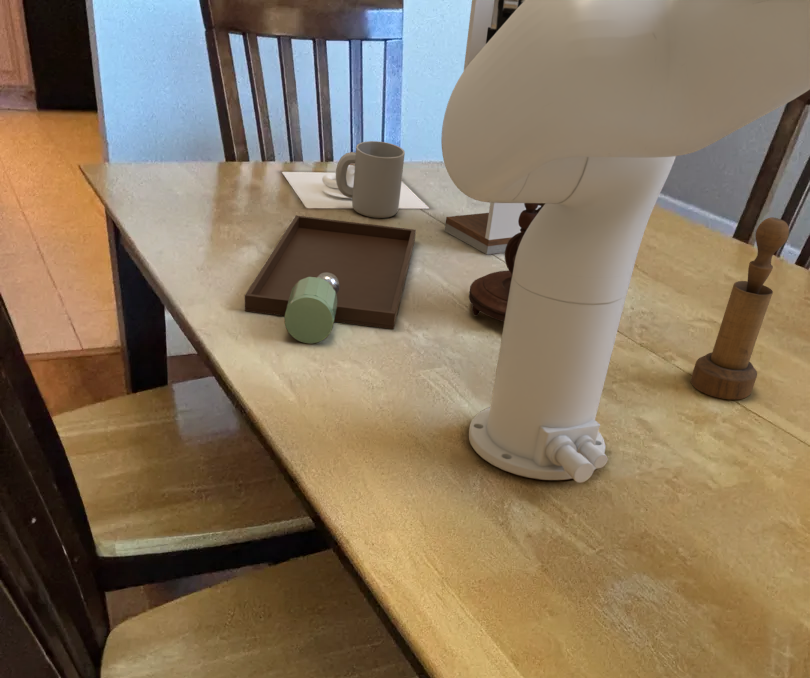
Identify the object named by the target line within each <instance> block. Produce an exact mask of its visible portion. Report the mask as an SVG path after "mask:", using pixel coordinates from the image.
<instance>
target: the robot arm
mask: <svg viewBox="0 0 810 678" xmlns="http://www.w3.org/2000/svg"><path fill="white" fill-rule="evenodd" d="M808 91H810V0H494V5H493V13H492V21H491V27H488V31H487V39H486V45H485V46H484V47H483V48H482V49H481V51H480V52H479V53H478V54H477V55H476V56H475V58H474V59H473V60H472V61H471V62H470V64H469V65H468V66H467V67H466V69H465V70H464V69H463V72H462V73H461V75H460V76H459V78H458V80H457V81H456V84H455V85H454V87H453V90H452V91H451V93H450V95H449V99H448V102H447V104H446V108H445V111H444V115H443V118H442V119H443V120H442V125H441V138H440V139H441V154H442V159H443V163H444V167H445V170H446V172H447V174H448V176H449V178H450V179H451V182H452V183H453V184H454V186H455V187H456V188H457V189H458V190H459V191H460V192H461V193H462V194H464V195H465V196H466V197H468V198H470V199H473V200H474V201H478V202H481V203H482V202H483V203H489V204H490V203H545V205H544V206H543V207H542V209H541V210H540V211H539V213H538V214H537V215H536V217H535V218H534V219H533V221H532V222H531V224H530V225H529V227H528V229H527V230H526V232H525V234H524V236H523V238H522V240H521V242H520V245H519V247H518V250H517V254H516V258H515V263H514V269H513V275H512V280H511V285H510V291H509V297H508V303H507V309H506V315H505V321H504V322H503V326H502V327H503V328H502V334H501V339H500V346H499V350H498V351H499V352H498V359H497V363H496V364H497V365H496V369H495V375H494V382H493V386H492V387H493V389H492V394H491V400H490V406H488V407H486V408H484V409H481V410H480V411H479V412H478V413H476V414H475V415H474V416H473V418H472V419H471V421H470V424H469V428H468V440H469V443H470V446H471V447H472V448H473V450H474V452H476V454H478V456H480V457H481V458H482V460H483V461H484V460H485V461H486V462H488V463H489V464H491V466H494V467H496V468H498V469H501V470H502V471H504V472H508V473H510V474H513V475H516V476H520V477H524V478H529V479H535V480H542V481H565V480H572V479H573V480H574V482H576V483H580V484H581V483H585V482H586V481H588V480H589V479H590V478H591V477H592V475H593V474H594V472H595V470H597V469H602V468H604V467H605V466H606V465H607V463H608V462H609V457H608V455H606V453H605V452H606V442H605V439H604V437H603V436H602V434H601V432H600V427H601V424H600V423H599V422H598V421H597V420H596V418H597V413H598V410H599V406H600V402H601V398H602V394H603V391H604V386H605V382H606V378H607V375H608V372H609V371H608V370H609V366H610V364H611V363H610V362H611V358H612V356H613V355H612V354H613V351H614V346H615V342H616V339H617V334H618V331H619V327H620V322H621V320H622V315H623V310H624V307H625V303H626V299H627V296H628V292H629V288H630V285H631V280H632V277H633V272H634V268H635V266H636V261H637V259H638V254H639V251H640V247H641V244H642V242H643V241H642V240H643V237H644V234H645V231H646V229H647V226H648V223H649V220H650V217H651V216H652V213H653V210H654V208H655V206H656V203H657V201H658V199H659V197H660V194H661V192H662V190H663V188H664V186H665V183H666V181H667V179H668V177H669V175H670V172H671V170H672V169H673V165H674V163H675V161H676V157H679V156H685V155H690V154H693V153H696V152H698V151H700V150H702V149H705V148H707V147H709V146H711V145H712V144H714V143H717V142H718V141H720V140H722V139H723V138H726V137H727V136H729V135H731V134H733V133H735V132H736V131H738V130H739V129H742V128H743V127H745V126H747V125H749V124H751V123H753V122H755V121H757V120H758V119H761V118H762V117H764V116H766V115H768V114H770V113H771V112H773V111H775V110H777V109H779V108H781V107H783V106H784V105H786V104H789V103H790V102H792V101H794V100H795V99H797V98H799V97H800V96H802V95H804V94H805V93H807V92H808Z"/></svg>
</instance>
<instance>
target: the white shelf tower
mask: <svg viewBox="0 0 810 678" xmlns="http://www.w3.org/2000/svg"><path fill="white" fill-rule="evenodd" d="M493 5H494V0H471V4H470V6H471V7H470V14H469V23H468V30H467V38H466V48H465V56H464V65H463V71H464V70H465V69H466V67H467V66H468V65H469V64H470V62H471V61H472V60H473V59H474V58H475V56H476V55H477V54H478V53H479V52H480V51H481V49H482V48H483V47H484V46H485V45H486V39H487V31H488V27H491V21H492V13H493ZM539 207H541V206H539V205H538V207H537V208H536V209H535V210H537V209H538V208H539ZM523 210H526V208H525V205H524V203H490V202H489V210H488V212H483V213H481V212H480V213H473V214H472V213H471V214H462V215H451V216H446V217H445V223H444V232H446V233H447V234H449V235H451V236H453V237H455V238H457V239H458V240H460V241H461V242H464V243H465V244H467V245H469V246H470V247H472V248H474V249H476V250H478V251H479V252H481V253H483V254H485V255H493V254H501V253H502V254H503V253H505V249H506V246H507V244H508V242H509V240H510V239H511V238H512V237H513V236H514V235H516V234H518V233H520V232H521V231H520V229H521V227H520V226H519V223H518V220H519V216H520V214H521V212H522V211H523Z"/></svg>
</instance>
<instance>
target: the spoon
mask: <svg viewBox="0 0 810 678" xmlns="http://www.w3.org/2000/svg"><path fill="white" fill-rule="evenodd" d="M318 278H321V279H323V280H325V281H327V282H328V283H330V285H331V286H332V287H333V289H334V290H335V292H336V294H337V293H338V291H339V288H340V283H339V280H338V278H337V277H336V276H335V275H334V274H332V273H329V272H325V273H322V274H320V275H319V276H318Z"/></svg>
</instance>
